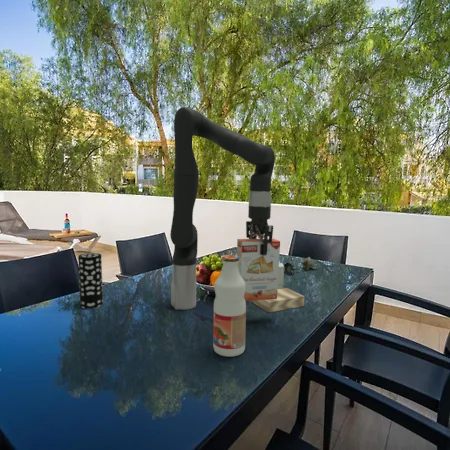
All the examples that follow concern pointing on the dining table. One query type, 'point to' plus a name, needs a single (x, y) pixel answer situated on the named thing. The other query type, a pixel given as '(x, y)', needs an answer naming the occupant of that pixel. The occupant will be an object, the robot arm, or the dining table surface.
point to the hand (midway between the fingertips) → (258, 252)
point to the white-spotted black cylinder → (90, 280)
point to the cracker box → (259, 268)
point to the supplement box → (280, 276)
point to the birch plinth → (281, 301)
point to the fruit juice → (229, 309)
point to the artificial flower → (289, 268)
